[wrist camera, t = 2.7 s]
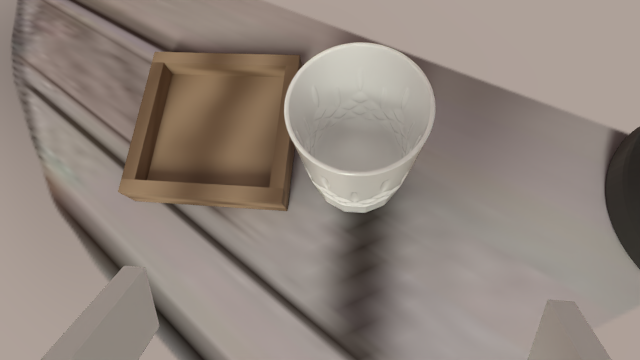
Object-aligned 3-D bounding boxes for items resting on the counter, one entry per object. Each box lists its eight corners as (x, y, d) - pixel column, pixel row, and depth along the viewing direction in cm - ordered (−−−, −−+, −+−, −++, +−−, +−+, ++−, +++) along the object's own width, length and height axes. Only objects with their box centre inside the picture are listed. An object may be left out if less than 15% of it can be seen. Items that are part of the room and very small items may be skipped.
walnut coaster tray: (303, 72, 33) (299, 55, 31) (287, 210, 29) (281, 202, 27) (168, 69, 34) (154, 51, 32) (135, 200, 31) (118, 191, 28)
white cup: (299, 133, 31) (276, 54, 22) (397, 116, 31) (416, 30, 22) (313, 229, 29) (293, 187, 19) (420, 212, 29) (453, 161, 19)
